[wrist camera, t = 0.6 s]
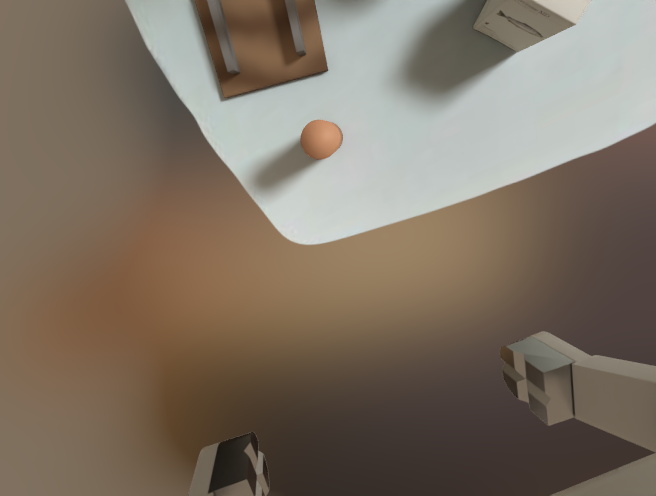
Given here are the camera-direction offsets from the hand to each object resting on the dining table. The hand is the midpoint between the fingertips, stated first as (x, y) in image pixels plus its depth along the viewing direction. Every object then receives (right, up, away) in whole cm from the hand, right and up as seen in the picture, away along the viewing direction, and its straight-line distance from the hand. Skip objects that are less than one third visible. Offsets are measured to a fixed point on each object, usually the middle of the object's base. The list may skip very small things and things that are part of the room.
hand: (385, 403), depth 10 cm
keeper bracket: (-11, +37, +35) cm, 52 cm away
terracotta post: (-2, +22, +39) cm, 45 cm away
